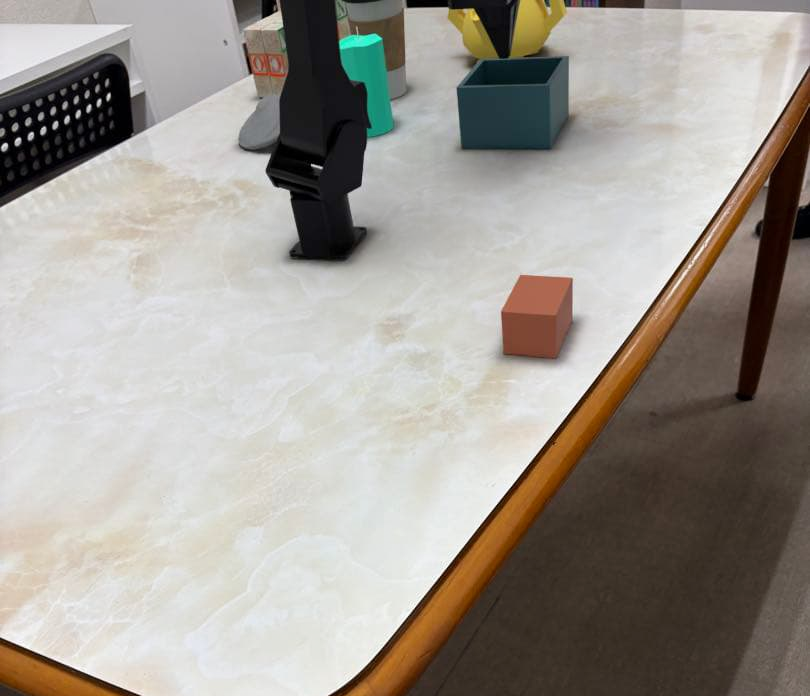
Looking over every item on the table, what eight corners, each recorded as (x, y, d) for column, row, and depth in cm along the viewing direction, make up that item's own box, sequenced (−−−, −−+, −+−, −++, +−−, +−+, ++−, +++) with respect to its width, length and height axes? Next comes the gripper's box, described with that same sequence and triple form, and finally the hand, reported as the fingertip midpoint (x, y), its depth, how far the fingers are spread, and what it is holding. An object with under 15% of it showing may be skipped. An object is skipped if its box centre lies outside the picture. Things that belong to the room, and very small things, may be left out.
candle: (389, 135, 110) (374, 32, 102) (344, 138, 112) (327, 36, 103) (398, 118, 115) (385, 17, 106) (355, 121, 116) (339, 21, 108)
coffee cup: (424, 93, 120) (411, -32, 110) (368, 108, 119) (350, -17, 108) (402, 79, 126) (388, -41, 116) (349, 93, 125) (329, -27, 114)
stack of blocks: (291, 100, 126) (271, 5, 117) (257, 98, 128) (235, 5, 120) (365, 52, 138) (351, -38, 130) (332, 51, 141) (317, -36, 132)
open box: (549, 85, 96) (568, 55, 102) (456, 87, 99) (480, 58, 106) (550, 149, 101) (568, 117, 107) (461, 149, 104) (484, 118, 111)
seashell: (321, 117, 119) (251, 111, 120) (316, 76, 114) (244, 71, 115) (299, 165, 112) (226, 158, 114) (294, 123, 108) (218, 117, 109)
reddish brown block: (556, 358, 70) (556, 315, 67) (503, 354, 72) (500, 311, 69) (572, 319, 74) (572, 277, 71) (521, 316, 75) (520, 274, 73)
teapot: (478, 36, 136) (473, -47, 128) (587, 36, 129) (588, -52, 121) (424, 80, 124) (414, -8, 117) (540, 82, 117) (539, -12, 109)
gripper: (554, -101, 77) (555, 85, 88) (596, -140, 89) (593, 28, 100) (438, -90, 81) (453, 87, 92) (493, -128, 93) (500, 32, 104)
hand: (504, 57), depth 97 cm, fingers closed
